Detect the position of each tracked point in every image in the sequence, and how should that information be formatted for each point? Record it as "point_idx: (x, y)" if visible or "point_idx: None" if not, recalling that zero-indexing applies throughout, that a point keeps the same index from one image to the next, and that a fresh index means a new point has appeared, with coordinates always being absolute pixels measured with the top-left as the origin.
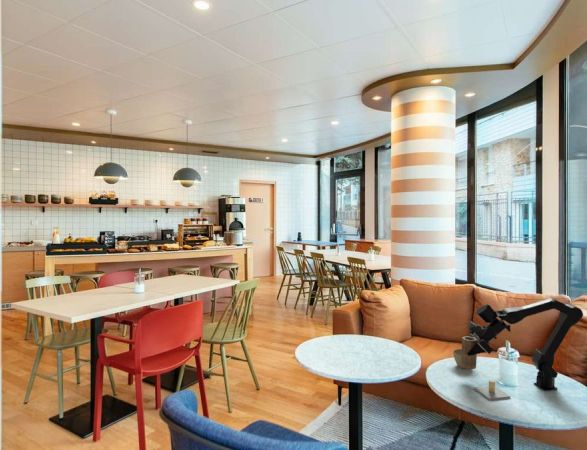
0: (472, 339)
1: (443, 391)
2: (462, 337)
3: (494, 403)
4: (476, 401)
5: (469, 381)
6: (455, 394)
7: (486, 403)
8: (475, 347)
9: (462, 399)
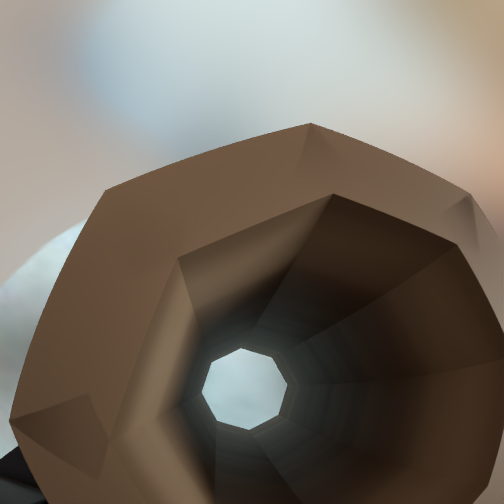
0: (440, 488)
1: (74, 232)
2: (390, 154)
3: (12, 436)
4: (8, 361)
5: (222, 392)
6: (51, 281)
7: (3, 400)
8: (13, 467)
9: (16, 303)
